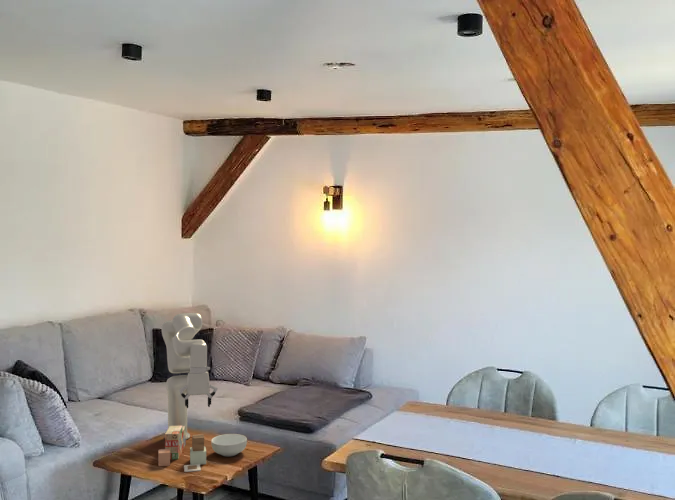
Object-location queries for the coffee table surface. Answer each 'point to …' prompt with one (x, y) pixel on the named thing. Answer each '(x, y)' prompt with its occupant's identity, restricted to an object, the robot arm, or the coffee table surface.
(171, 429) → the stack of blocks
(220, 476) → the coffee table surface
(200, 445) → the walnut block
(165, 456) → the terracotta block
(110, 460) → the coffee table surface
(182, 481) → the coffee table surface
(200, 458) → the sage base block
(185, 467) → the tile
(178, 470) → the coffee table surface
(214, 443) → the cereal bowl
